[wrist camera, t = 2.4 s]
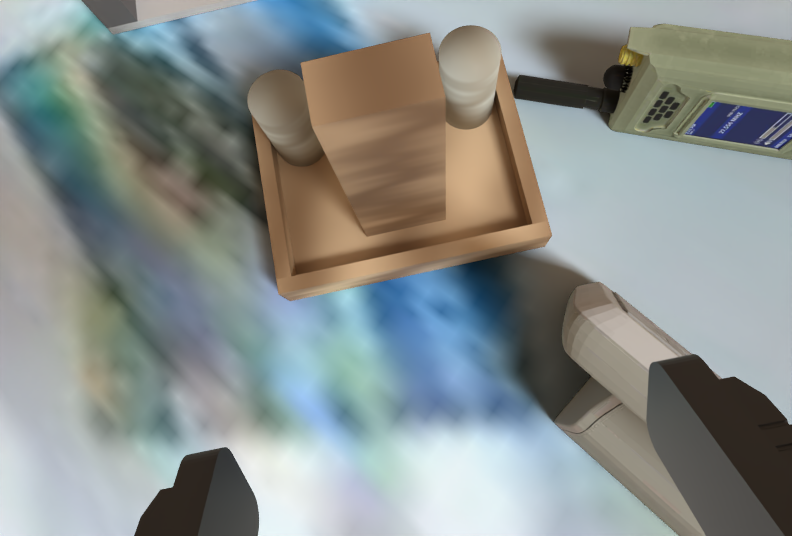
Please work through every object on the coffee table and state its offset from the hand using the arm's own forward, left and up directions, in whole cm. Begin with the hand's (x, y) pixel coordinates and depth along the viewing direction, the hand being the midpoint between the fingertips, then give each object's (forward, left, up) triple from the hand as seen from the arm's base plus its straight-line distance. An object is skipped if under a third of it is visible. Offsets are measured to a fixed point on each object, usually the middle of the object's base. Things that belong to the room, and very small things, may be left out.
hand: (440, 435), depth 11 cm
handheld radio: (+19, +12, -19) cm, 30 cm away
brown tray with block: (0, +13, -19) cm, 23 cm away
